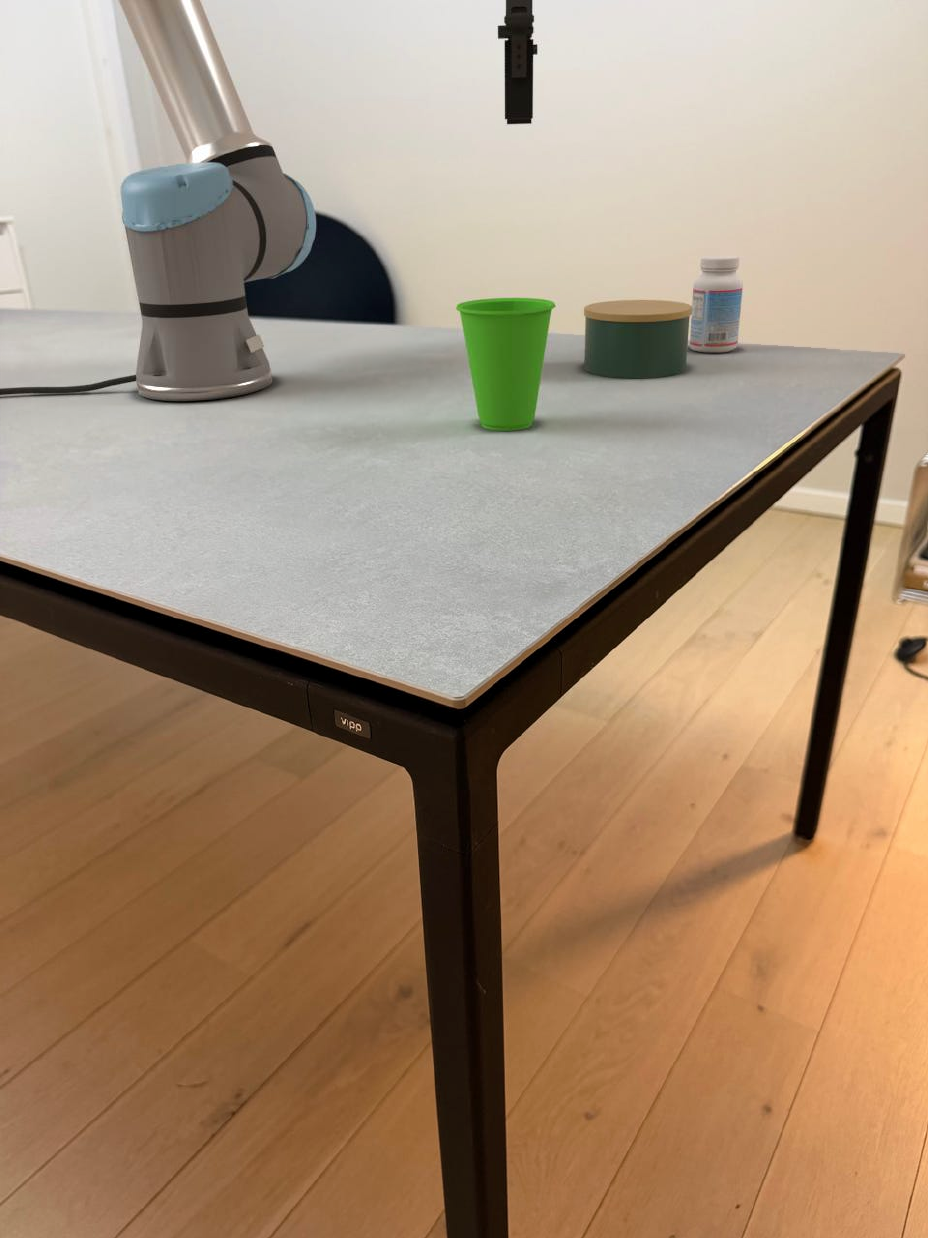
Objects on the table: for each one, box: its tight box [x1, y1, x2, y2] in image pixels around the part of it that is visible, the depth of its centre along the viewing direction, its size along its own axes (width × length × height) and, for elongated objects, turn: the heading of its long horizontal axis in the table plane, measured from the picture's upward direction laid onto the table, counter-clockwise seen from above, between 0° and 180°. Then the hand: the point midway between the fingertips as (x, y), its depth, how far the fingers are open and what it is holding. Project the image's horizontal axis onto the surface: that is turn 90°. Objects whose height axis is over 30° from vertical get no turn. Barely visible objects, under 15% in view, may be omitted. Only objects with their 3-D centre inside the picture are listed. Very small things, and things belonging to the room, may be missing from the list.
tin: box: [583, 299, 692, 379], centre depth 109 cm, size 12×12×7 cm
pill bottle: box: [689, 254, 744, 354], centre depth 117 cm, size 6×6×11 cm
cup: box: [455, 297, 557, 432], centre depth 86 cm, size 9×9×11 cm
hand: (519, 121), depth 95 cm, fingers open, 13 cm apart
